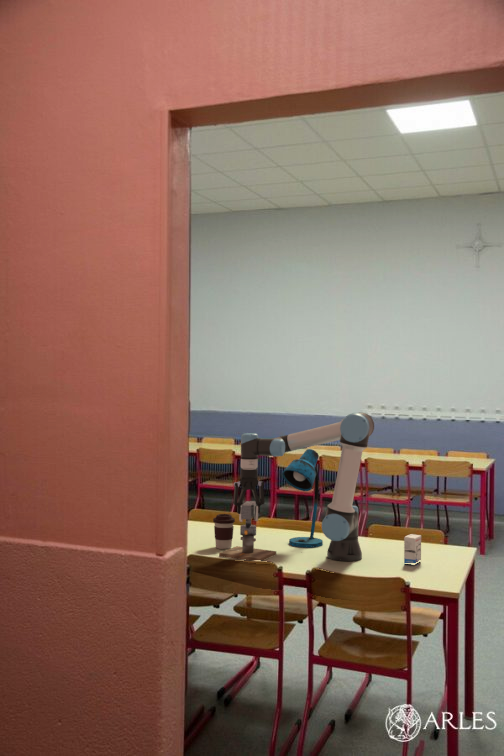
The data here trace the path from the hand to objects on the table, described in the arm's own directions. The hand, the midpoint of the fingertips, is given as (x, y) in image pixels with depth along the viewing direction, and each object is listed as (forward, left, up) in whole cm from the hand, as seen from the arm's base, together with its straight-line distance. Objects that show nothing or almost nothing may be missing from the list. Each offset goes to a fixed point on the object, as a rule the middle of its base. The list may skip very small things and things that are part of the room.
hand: (248, 520), depth 328 cm
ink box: (-67, -24, -16) cm, 73 cm away
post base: (0, 0, -15) cm, 15 cm away
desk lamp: (-12, -33, -16) cm, 38 cm away
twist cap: (0, 0, -6) cm, 6 cm away
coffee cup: (+17, -8, -16) cm, 24 cm away
